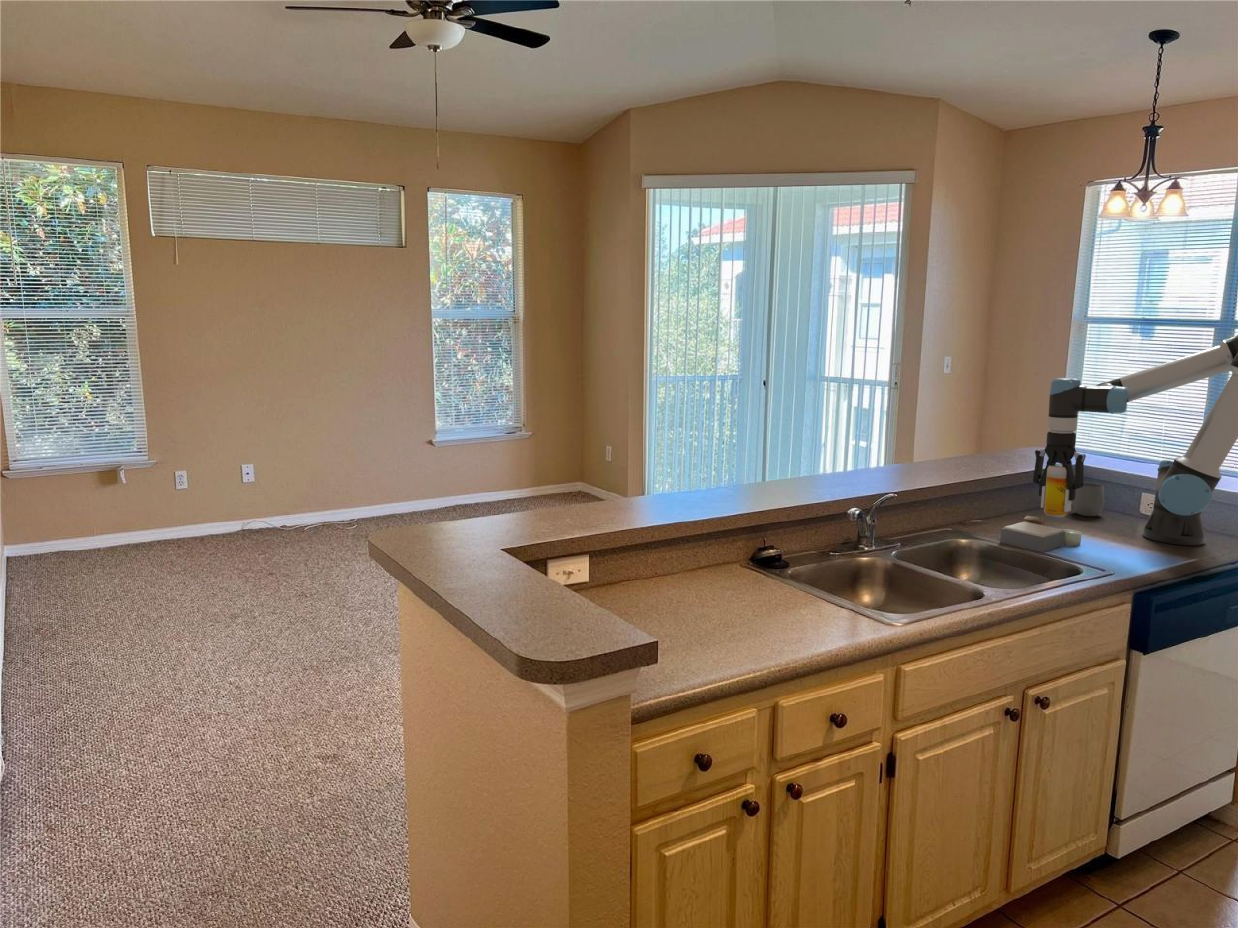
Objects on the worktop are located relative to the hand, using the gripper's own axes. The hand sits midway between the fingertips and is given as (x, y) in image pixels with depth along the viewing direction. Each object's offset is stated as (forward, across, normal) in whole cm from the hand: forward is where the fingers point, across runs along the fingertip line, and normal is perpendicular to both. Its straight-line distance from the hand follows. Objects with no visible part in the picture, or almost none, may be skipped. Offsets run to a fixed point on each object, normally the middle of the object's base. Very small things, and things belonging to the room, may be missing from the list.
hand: (1055, 509), depth 248 cm
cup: (+8, +6, -35) cm, 36 cm away
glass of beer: (+2, 0, 0) cm, 2 cm away
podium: (+7, -2, +17) cm, 19 cm away
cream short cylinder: (+8, -8, +7) cm, 13 cm away
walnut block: (+7, +3, +7) cm, 11 cm away
